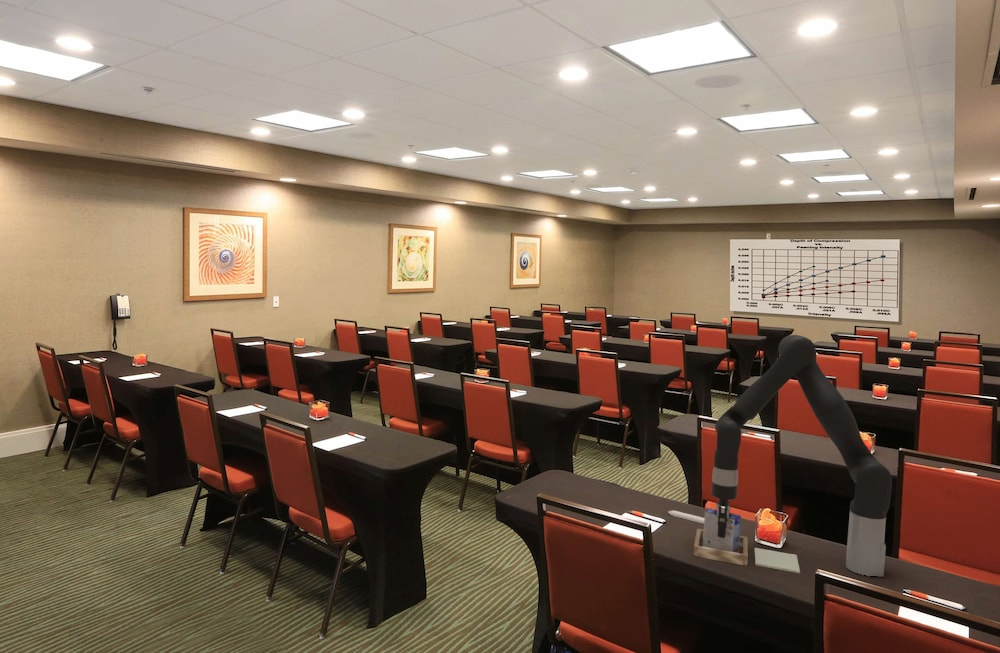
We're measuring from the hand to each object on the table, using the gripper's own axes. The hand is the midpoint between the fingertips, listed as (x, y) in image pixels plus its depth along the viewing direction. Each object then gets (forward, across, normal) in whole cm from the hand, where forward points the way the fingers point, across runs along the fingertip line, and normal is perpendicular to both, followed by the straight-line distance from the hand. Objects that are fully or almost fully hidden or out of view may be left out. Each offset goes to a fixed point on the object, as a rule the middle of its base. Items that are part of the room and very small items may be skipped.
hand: (721, 532), depth 191 cm
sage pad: (+6, 0, -16) cm, 17 cm away
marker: (+7, +23, +10) cm, 26 cm away
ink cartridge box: (+6, 0, 0) cm, 6 cm away
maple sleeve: (+6, 0, 0) cm, 6 cm away
